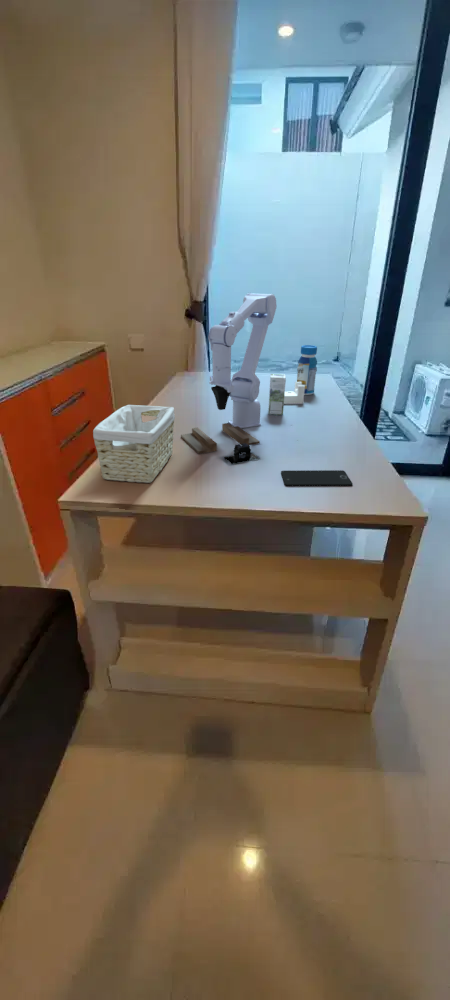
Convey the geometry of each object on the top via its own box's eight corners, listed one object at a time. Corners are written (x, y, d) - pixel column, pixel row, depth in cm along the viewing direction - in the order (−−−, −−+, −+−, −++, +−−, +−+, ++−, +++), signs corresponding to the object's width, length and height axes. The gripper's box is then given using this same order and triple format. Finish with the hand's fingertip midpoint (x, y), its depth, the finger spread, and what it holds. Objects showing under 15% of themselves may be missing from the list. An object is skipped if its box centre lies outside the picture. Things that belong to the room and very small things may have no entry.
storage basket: (128, 449, 137) (123, 402, 130) (178, 452, 135) (176, 405, 128) (97, 482, 117) (89, 429, 110) (155, 487, 114) (151, 433, 107)
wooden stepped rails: (237, 428, 154) (237, 421, 153) (259, 443, 142) (260, 436, 140) (181, 436, 146) (180, 429, 145) (198, 453, 134) (198, 446, 133)
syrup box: (282, 410, 173) (285, 373, 166) (283, 415, 167) (285, 377, 160) (268, 410, 173) (270, 373, 166) (268, 415, 168) (270, 376, 161)
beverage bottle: (315, 395, 192) (320, 348, 183) (296, 395, 193) (300, 347, 183) (312, 390, 200) (317, 344, 190) (294, 390, 200) (297, 344, 190)
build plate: (254, 452, 137) (255, 438, 135) (266, 461, 131) (267, 446, 129) (218, 458, 132) (218, 444, 130) (229, 468, 126) (229, 453, 124)
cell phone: (352, 487, 116) (353, 484, 115) (285, 487, 115) (285, 484, 115) (343, 473, 124) (344, 470, 123) (280, 473, 123) (280, 470, 123)
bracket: (299, 399, 188) (301, 381, 184) (303, 404, 182) (304, 386, 178) (269, 399, 187) (270, 382, 184) (272, 404, 181) (273, 386, 177)
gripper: (200, 363, 140) (201, 404, 147) (219, 372, 129) (219, 417, 135) (220, 361, 143) (220, 402, 150) (240, 370, 132) (239, 414, 138)
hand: (221, 409), depth 143 cm, fingers closed
